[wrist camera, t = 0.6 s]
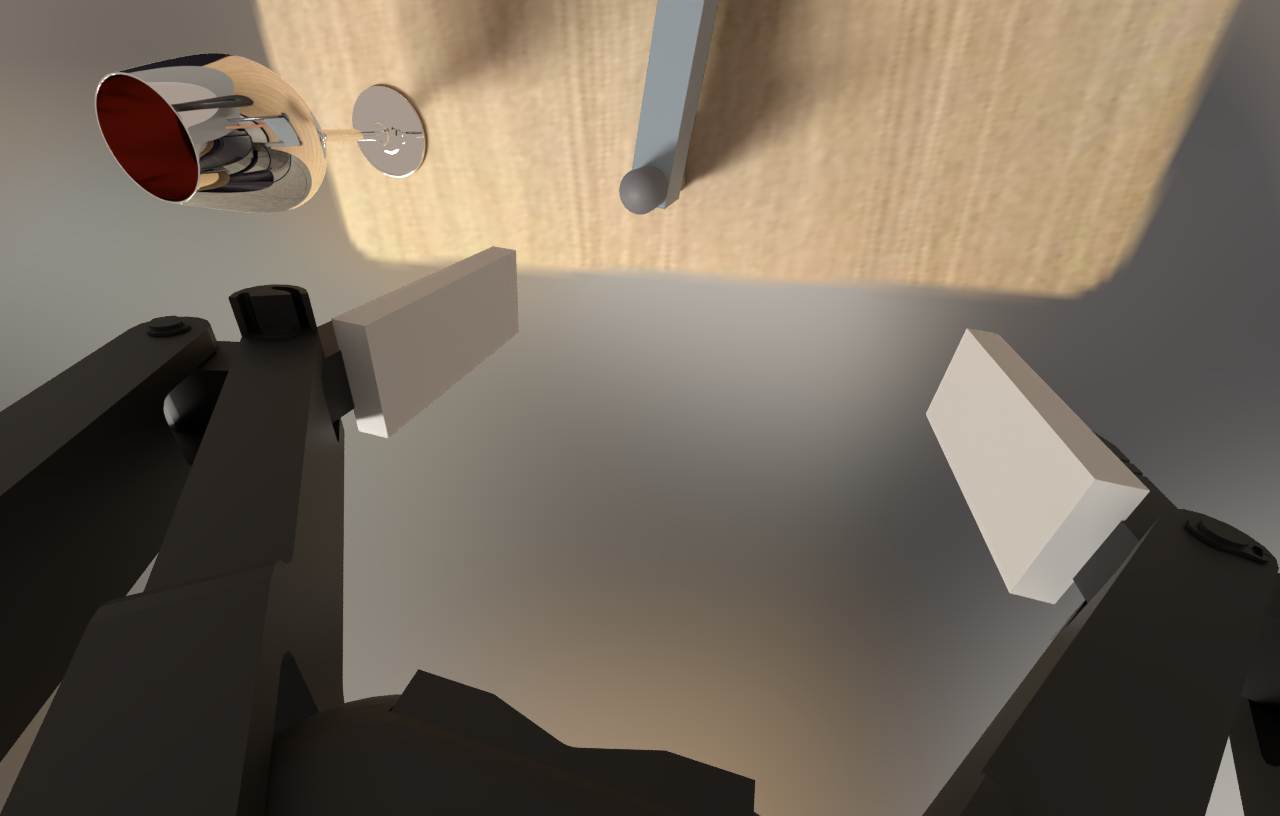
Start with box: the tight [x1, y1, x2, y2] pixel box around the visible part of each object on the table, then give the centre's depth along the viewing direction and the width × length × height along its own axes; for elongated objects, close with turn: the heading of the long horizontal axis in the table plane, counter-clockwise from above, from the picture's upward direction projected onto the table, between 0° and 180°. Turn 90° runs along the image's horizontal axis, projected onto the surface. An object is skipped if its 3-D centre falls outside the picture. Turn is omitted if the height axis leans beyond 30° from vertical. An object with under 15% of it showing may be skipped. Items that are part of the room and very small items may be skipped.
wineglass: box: [95, 53, 426, 213], centre depth 32 cm, size 8×8×18 cm
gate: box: [619, 0, 719, 214], centre depth 29 cm, size 15×2×9 cm, turn 171°
